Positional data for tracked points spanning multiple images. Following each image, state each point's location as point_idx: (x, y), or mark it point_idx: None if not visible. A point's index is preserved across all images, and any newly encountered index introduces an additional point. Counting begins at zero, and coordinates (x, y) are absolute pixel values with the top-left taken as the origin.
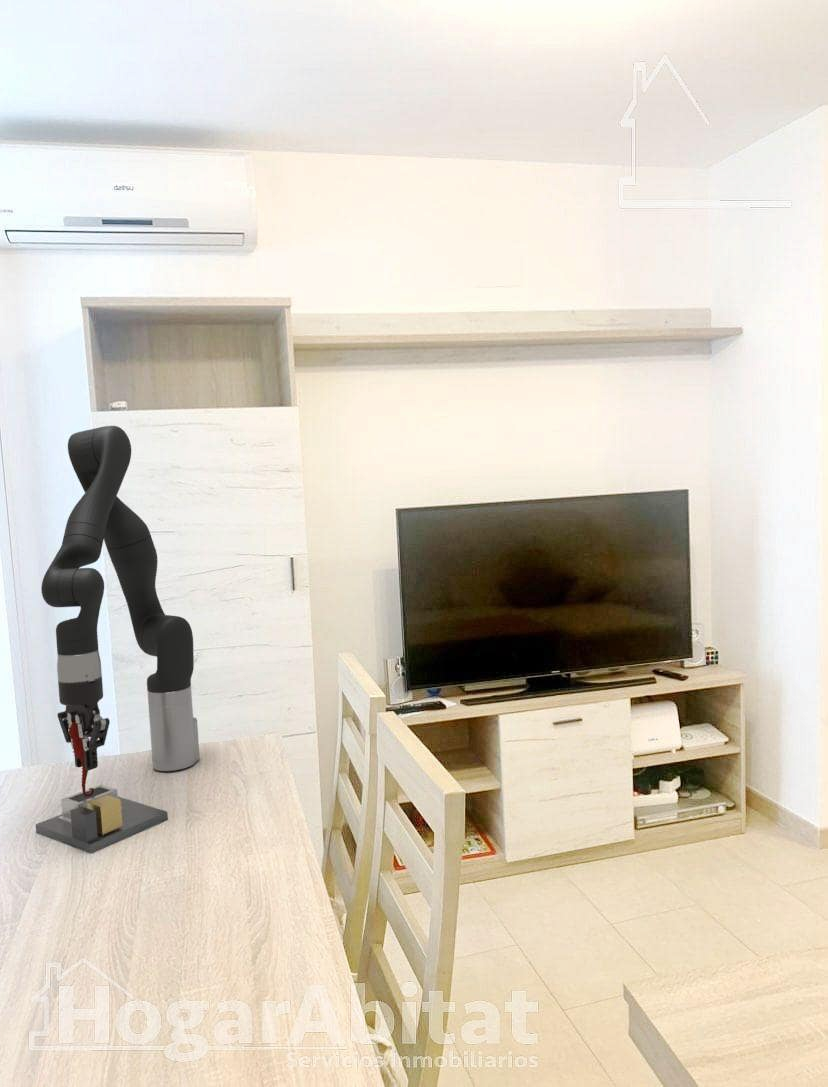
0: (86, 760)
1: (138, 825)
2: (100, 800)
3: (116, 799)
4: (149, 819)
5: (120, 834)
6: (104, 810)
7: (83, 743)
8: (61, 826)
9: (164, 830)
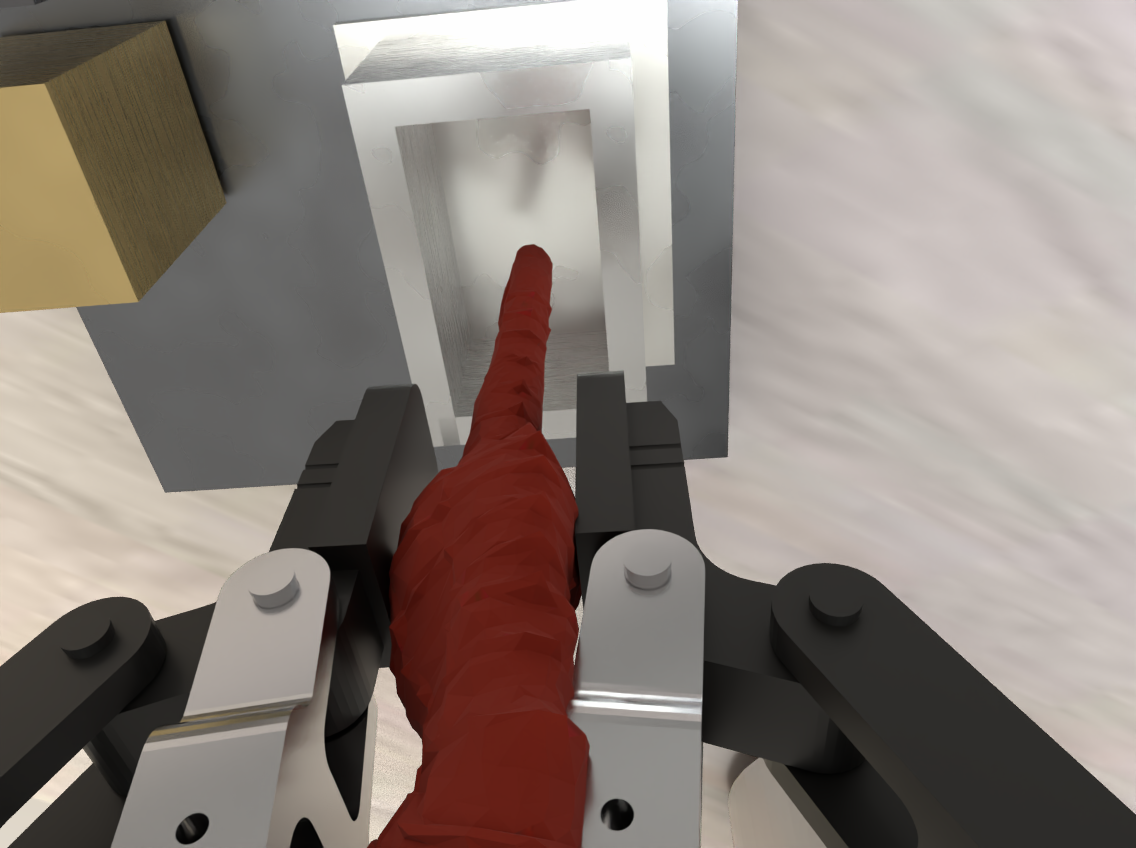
0: (343, 456)
1: None
2: (22, 197)
3: None
4: (113, 382)
5: None
6: None
7: (306, 639)
8: None
9: (30, 377)
